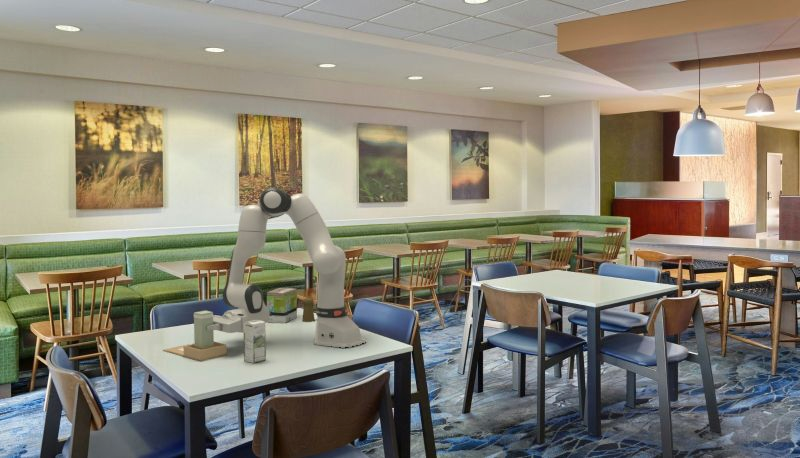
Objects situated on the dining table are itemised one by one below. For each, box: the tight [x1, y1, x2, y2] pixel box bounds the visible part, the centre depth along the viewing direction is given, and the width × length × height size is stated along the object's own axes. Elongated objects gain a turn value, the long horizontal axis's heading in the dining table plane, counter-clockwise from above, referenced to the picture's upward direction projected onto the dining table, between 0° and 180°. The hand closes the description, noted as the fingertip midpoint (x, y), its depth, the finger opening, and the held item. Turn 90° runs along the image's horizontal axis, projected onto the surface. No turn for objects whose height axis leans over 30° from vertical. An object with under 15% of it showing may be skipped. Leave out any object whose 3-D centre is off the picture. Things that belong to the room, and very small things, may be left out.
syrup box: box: [243, 320, 267, 364], centre depth 225 cm, size 6×6×14 cm
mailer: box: [162, 341, 228, 362], centre depth 238 cm, size 26×11×4 cm, turn 51°
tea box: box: [266, 287, 298, 324], centre depth 300 cm, size 15×10×15 cm, turn 168°
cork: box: [301, 297, 315, 323], centre depth 297 cm, size 6×6×11 cm
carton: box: [193, 310, 215, 349], centre depth 233 cm, size 5×5×13 cm
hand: (201, 327), depth 232 cm, fingers closed on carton, 5 cm apart
